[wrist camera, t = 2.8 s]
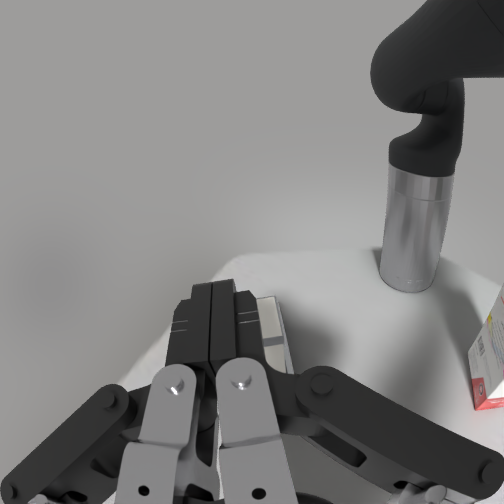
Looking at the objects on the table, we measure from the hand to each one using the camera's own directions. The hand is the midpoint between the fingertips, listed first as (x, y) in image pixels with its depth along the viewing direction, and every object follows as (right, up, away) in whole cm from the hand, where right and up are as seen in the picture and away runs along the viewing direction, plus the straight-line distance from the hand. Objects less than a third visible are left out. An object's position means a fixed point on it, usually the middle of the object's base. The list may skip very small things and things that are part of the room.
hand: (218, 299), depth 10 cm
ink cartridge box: (+28, -13, +10) cm, 33 cm away
